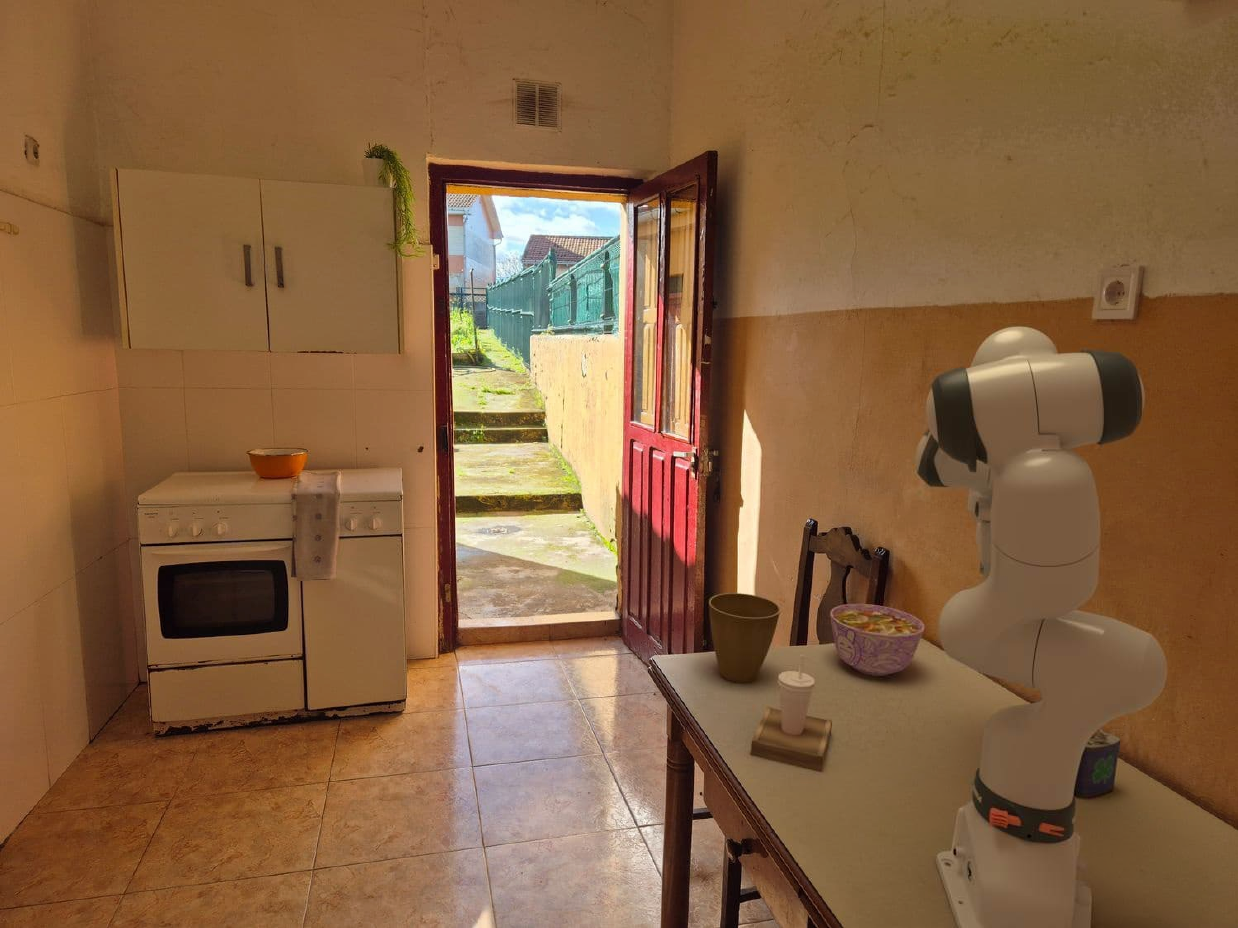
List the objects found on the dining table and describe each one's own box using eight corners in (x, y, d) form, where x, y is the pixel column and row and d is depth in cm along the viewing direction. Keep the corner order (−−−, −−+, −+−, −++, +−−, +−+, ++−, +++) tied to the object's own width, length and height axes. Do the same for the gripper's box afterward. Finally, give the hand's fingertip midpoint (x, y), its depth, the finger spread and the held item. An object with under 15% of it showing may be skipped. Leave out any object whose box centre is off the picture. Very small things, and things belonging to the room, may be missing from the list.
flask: (1102, 781, 131) (1111, 722, 129) (1119, 790, 128) (1129, 730, 127) (1065, 792, 127) (1074, 731, 125) (1082, 802, 125) (1092, 740, 123)
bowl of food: (822, 677, 167) (827, 626, 165) (828, 644, 186) (832, 598, 184) (921, 695, 161) (927, 642, 159) (917, 659, 180) (922, 611, 178)
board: (821, 771, 130) (823, 756, 129) (750, 754, 134) (751, 739, 134) (831, 733, 143) (832, 719, 142) (765, 719, 147) (767, 706, 146)
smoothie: (808, 741, 134) (815, 665, 132) (771, 733, 136) (777, 658, 134) (812, 725, 140) (818, 651, 138) (776, 717, 142) (782, 645, 140)
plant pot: (693, 680, 163) (698, 607, 160) (718, 656, 176) (723, 588, 173) (762, 697, 156) (768, 622, 153) (782, 671, 169) (788, 601, 166)
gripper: (972, 491, 145) (963, 562, 147) (979, 511, 126) (969, 593, 128) (1010, 495, 142) (1000, 567, 145) (1023, 516, 124) (1011, 599, 126)
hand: (986, 580), depth 136 cm, fingers open, 8 cm apart
